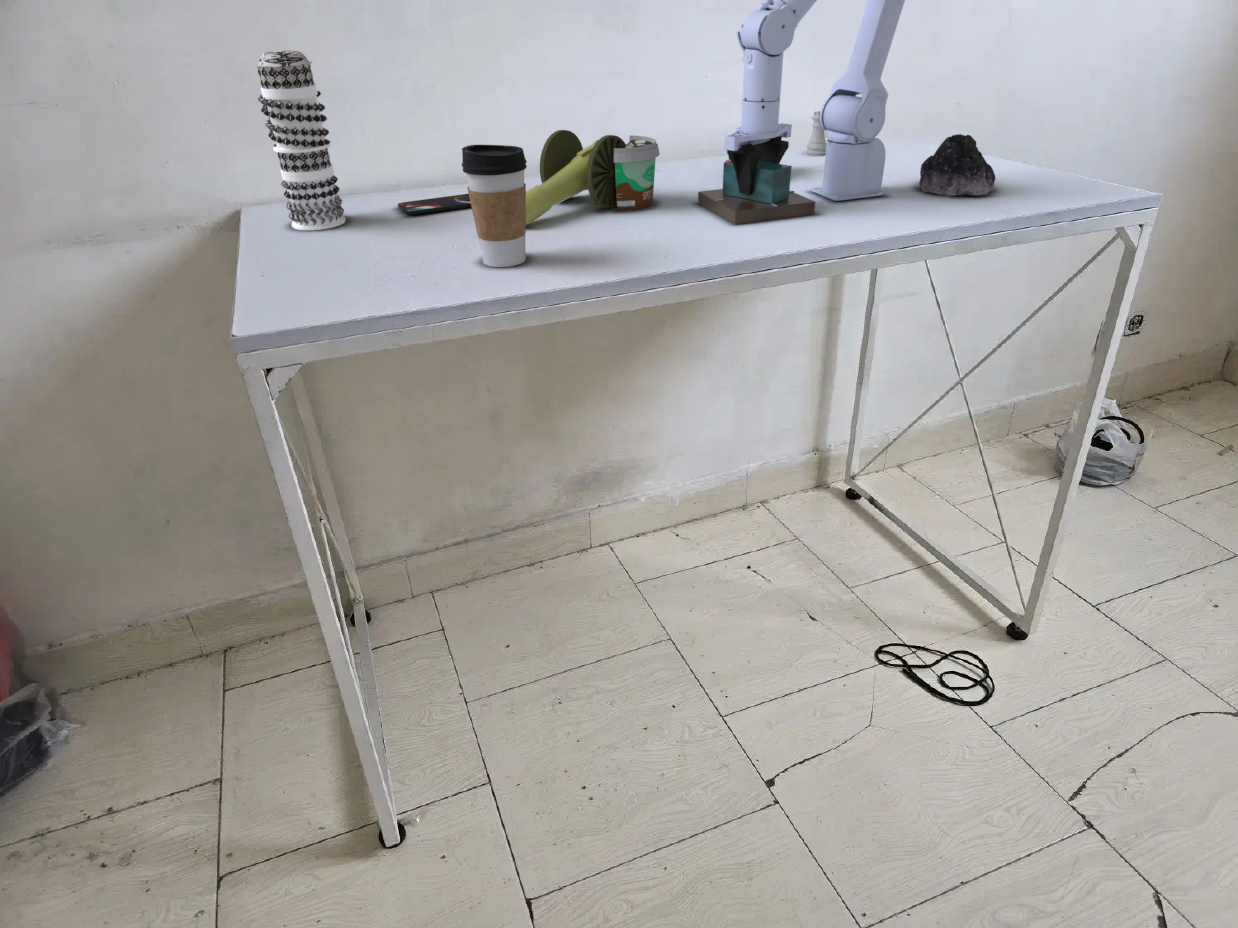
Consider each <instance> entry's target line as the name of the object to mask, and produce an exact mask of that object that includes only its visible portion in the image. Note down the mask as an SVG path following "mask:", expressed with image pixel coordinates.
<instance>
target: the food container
mask: <svg viewBox="0 0 1238 928" xmlns="http://www.w3.org/2000/svg"><path fill="white" fill-rule="evenodd" d="M659 156H660V149H659V144H658V143H657V140H656V139H655V138H653V137H650V136H646V135H645V136H644V135H629V141H628V142H627V143H625V144H624V145H623V146H622V147H621V148H614V163H615V177H616V196H617V206H616V211H617V212H631V211H639V210H644V209H648V208H650V207H652V206H653V204H654V188H655V172H656V158H658V157H659Z"/></svg>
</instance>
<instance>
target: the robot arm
mask: <svg viewBox="0 0 1238 928" xmlns="http://www.w3.org/2000/svg"><path fill="white" fill-rule="evenodd" d="M817 1H818V0H762V1H761V6H760V9H755V10H752V11H750V12H748V14H747V15H746V16H745V18H744V19H743V21H742V24H741V26H740V30H739V31H737V32H736V33H737V34H736V37H737V41H738V45H739V46H740V48H741V50H742V61H743V79H742V101H741V119H740V121H741V122H740V126H739V127H736V129H735V132H732V133H731V134H729V135H725V136H724V150H725V151H726V154H727V156H728V155H729V156H728V158H729V157H730V159H731V161H732V164H733V166H734V169H735V173H736V177H737V182H738V187H739V192H740V193H741V194H746V195H751V194H752V191H753V188H754V181H755V174H756V169H757V165H758V162H759V161H764V162H771V163H777V164H781V161H782V160H783V157H784V156H785V154H786V152H787V151H788V149H789V146H790V145H789V144H790V142H789V141H788V140H782V139H783V138H784V139H788V138H791V137H792V129H793V128H792V126H793V125H792V123H785V122H780V123H779V119H780V106H781V94H782V93H781V92H782V91H781V90H782V80H783V79H782V77H783V64H784V52H785V51H787V49H789V48H790V47H791V45H792V43H793V40H794V37H795V30H796V28H797V27H798V24H799V23H800V22H801V21H802V19H803V18H804V17H805V16H806V15H807V14H808V12H809V11H810V10H811V8H813V6H814V5H815V4H816V3H817ZM905 1H906V0H867V2H866V4H865V8H864V11H863V15H862V18H861V22H860V25H859V29H858V31H857V35H856V38H855V42H854V45H853V48H852V52H851V56H850V59H849V61H848V65H847V69H846V71H845V72H844V74H843V75H841V76H840V77H838V79H837V80H835V82H834V83H833V84H832V87H831V89H830V93H829V95H828V97H827V98H826V99H825V100H824V102H823V103H822V106H821V109H820V122H821V125H822V127H823V129H824V130H825V139H826V144H827V146H826V154H825V156H824V164H823V165H824V166H823V175H822V186H821V187H812V188H811V192H813V193H815V194H817V195H820V196H823V197H824V198H827V199H830V200H832V201H835V202H839V201H848V200H849V201H850V200H856V199H864V198H873V197H879V196H880V197H881V196H883V195H884V191H881V190H882V185H883V177H884V171H885V163H886V157H887V156H886V155H887V154H886V147H885V144H884V142H883V141H882V140H881V139H880V138H878V137H877V136H878V135H879V134H880V133H881V131H882V130H883V127H884V125H885V121H886V106H887V105H886V104H887V101H888V98H889V92H888V91H887V89H886V87H885V85H884V84H883V81H882V80H881V78H882V76H883V72H884V70H885V69H884V68H885V66H886V63H887V59H888V56H889V53H890V49H891V46H892V43H893V40H894V37H895V33H896V30H897V27H898V24H899V21H900V19H901V18H900V17H901V14H902V11H903V8H904V5H905ZM857 95H861V96H857ZM752 145H755V149H756V150H754V147H753V148H752Z"/></svg>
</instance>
